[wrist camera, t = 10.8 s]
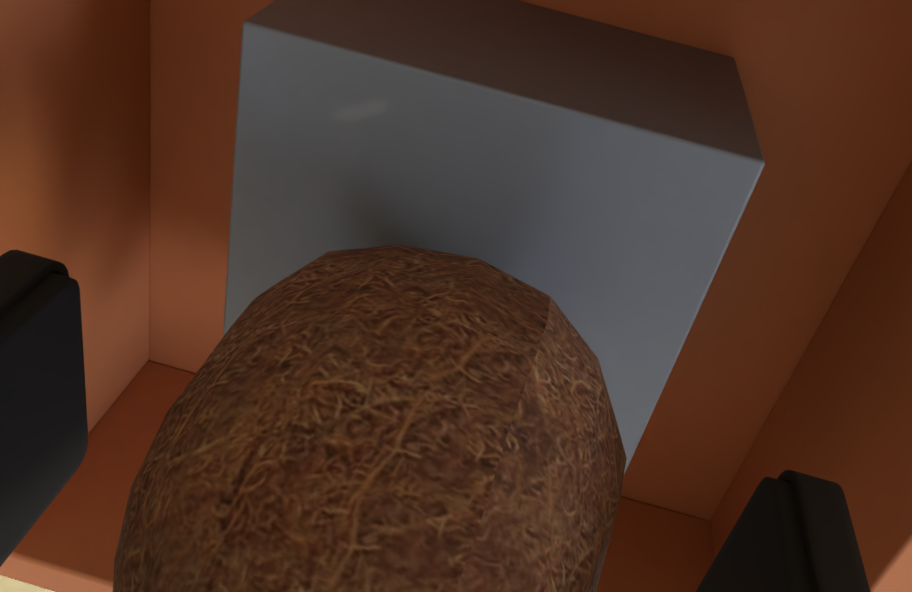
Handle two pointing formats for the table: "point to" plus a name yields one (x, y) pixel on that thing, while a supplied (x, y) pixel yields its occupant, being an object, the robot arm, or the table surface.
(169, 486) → the coconut
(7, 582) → the table surface
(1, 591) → the table surface
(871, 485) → the box
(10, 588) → the table surface
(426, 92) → the block
